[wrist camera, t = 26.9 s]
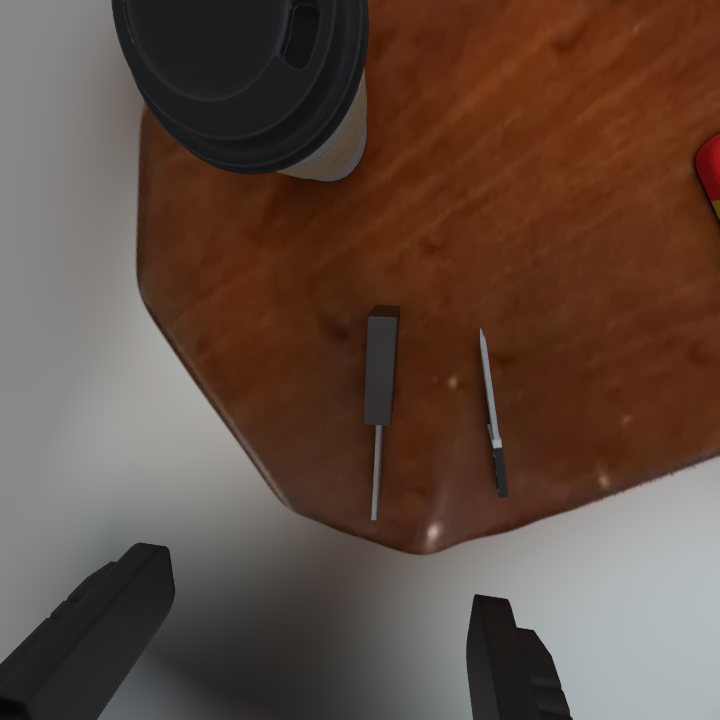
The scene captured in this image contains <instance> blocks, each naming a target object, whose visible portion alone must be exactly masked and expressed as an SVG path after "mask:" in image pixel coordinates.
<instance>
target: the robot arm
mask: <svg viewBox="0 0 720 720" xmlns="http://www.w3.org/2000/svg"><path fill="white" fill-rule="evenodd" d="M174 594H175V586H174V579H173V572H172V565H171V559H170V552H169V549H168V548H167V547H166V546H159V545H153V544H146V543H137V544H135V545H133V546H132V547H131V548H130V549H129V550H128V551H127V552H126V553H125V554H124V555H123V556H122V557H121V558H120V559H119V560H118V561H117V562H110V563H108V564H107V565H105V566H104V567H102V568H101V569H99V570H98V571H96V572H94V573H93V574H91V575H90V576H89V577H87V578H86V579H85V580H84V581H83V582H82V583H81V584H80V585H79V586H78V587H77V588H76V589H75V590H74V591H73V592H72V593H71V594H70V595H69V596H68V599H67V600H66V601H63V602H62V603H61V604H60V605H59V606H58V607H57V608H56V609H55V610H54V611H53V612H52V613H51V616H50V617H49V618H46V619H45V620H44V621H43V622H42V623H41V624H40V625H39V626H38V627H37V628H36V629H35V630H34V631H33V632H32V633H31V634H30V635H29V636H28V637H27V638H26V639H25V640H24V641H23V642H22V643H21V644H20V645H19V646H18V647H17V648H16V649H15V650H14V651H13V652H12V653H11V654H10V655H9V656H8V657H7V658H6V659H5V660H4V661H3V662H2V663H1V664H0V720H97V719H98V717H99V716H100V714H101V713H102V711H103V710H104V708H105V707H106V705H107V704H108V702H109V701H110V699H111V698H112V697H113V695H114V693H115V692H116V691H117V689H118V688H119V686H120V685H121V683H122V682H123V680H124V679H125V677H126V676H127V674H128V673H129V671H130V670H131V668H132V667H133V665H134V664H135V663H136V661H137V660H138V658H139V657H140V655H141V654H142V652H143V651H144V649H145V648H146V646H147V645H148V643H149V642H150V640H151V639H152V637H153V636H154V634H155V633H156V632H157V630H158V629H159V627H160V626H161V624H162V623H163V621H164V620H165V618H166V617H167V615H168V613H169V611H170V609H171V606H172V603H173V600H174ZM466 660H467V673H468V681H469V689H470V697H471V706H472V714H473V720H573V719H572V717H570V710H569V707H568V704H567V701H566V698H565V695H564V692H563V691H562V689H561V683H560V680H559V677H558V674H557V671H556V668H555V665H554V662H553V659H552V656H551V654H550V653H549V652H548V650H547V649H546V647H545V646H544V644H543V643H542V641H541V640H540V639H539V637H538V636H537V634H536V633H535V631H534V630H529V629H523V628H517V627H516V623H515V620H514V616H513V612H512V608H511V605H510V603H509V601H508V599H504V598H497V597H490V596H484V595H477V594H475V596H474V599H473V605H472V611H471V617H470V624H469V630H468V636H467V647H466Z"/></svg>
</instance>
